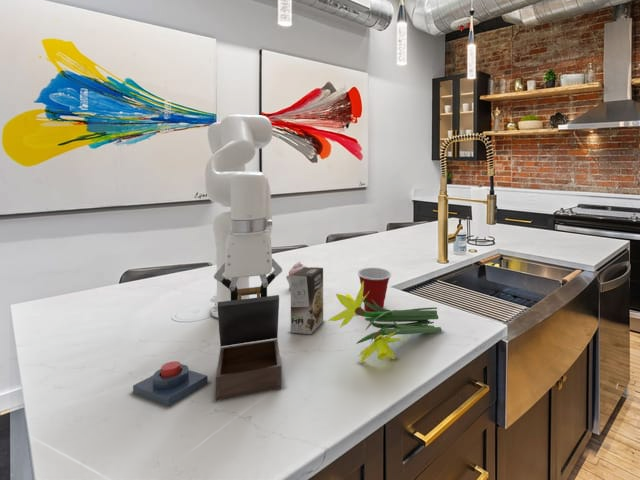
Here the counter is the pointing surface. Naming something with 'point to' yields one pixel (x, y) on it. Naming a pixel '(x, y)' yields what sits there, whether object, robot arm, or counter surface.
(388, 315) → the daffodil flowers
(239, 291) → the dark slab with handle
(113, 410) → the counter surface
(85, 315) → the counter surface
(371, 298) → the plastic cup
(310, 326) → the coffee box
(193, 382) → the blue button base
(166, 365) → the red push button
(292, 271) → the cupcake
